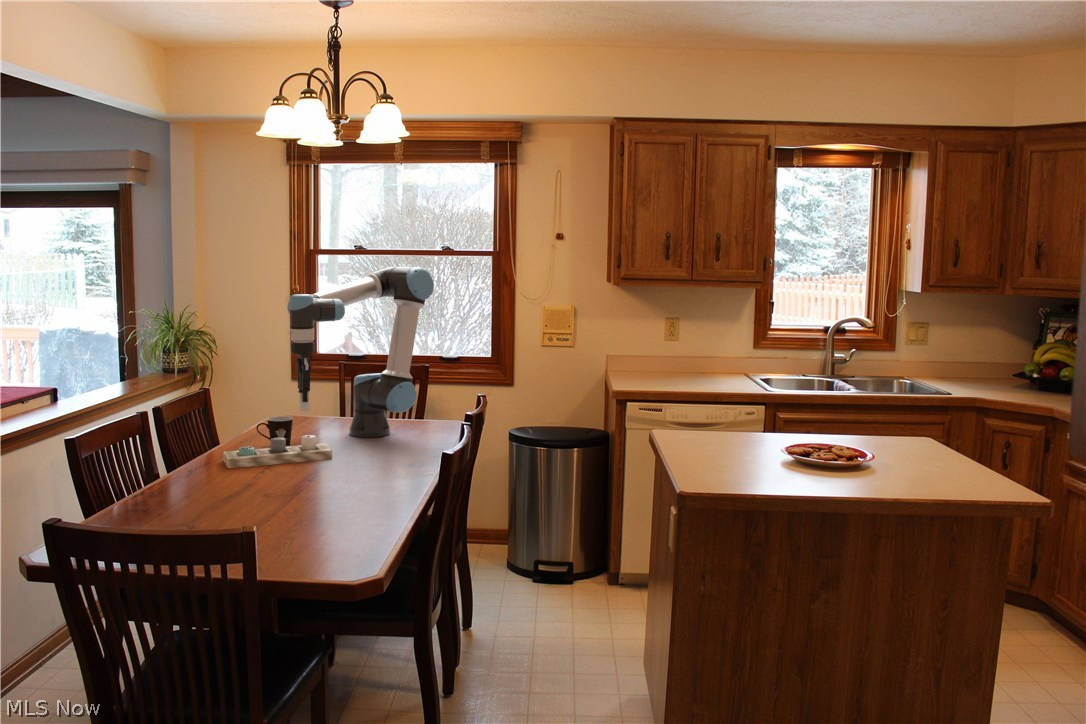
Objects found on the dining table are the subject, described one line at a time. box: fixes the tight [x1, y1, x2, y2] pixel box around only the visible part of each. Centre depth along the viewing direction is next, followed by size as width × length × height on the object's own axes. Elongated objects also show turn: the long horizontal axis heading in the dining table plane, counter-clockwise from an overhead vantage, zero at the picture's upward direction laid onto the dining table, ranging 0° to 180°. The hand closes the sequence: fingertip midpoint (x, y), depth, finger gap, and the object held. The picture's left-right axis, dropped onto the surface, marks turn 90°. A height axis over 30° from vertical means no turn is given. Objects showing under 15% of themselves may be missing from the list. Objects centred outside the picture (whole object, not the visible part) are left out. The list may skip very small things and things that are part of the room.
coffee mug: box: [256, 415, 294, 446], centre depth 300 cm, size 12×9×10 cm
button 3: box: [238, 446, 255, 456], centre depth 276 cm, size 5×5×5 cm
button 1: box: [300, 434, 317, 451], centre depth 285 cm, size 5×5×5 cm
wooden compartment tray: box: [222, 443, 333, 469], centre depth 281 cm, size 33×11×3 cm, turn 117°
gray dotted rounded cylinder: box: [269, 438, 286, 454], centre depth 281 cm, size 5×5×5 cm
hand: (304, 411), depth 283 cm, fingers closed
